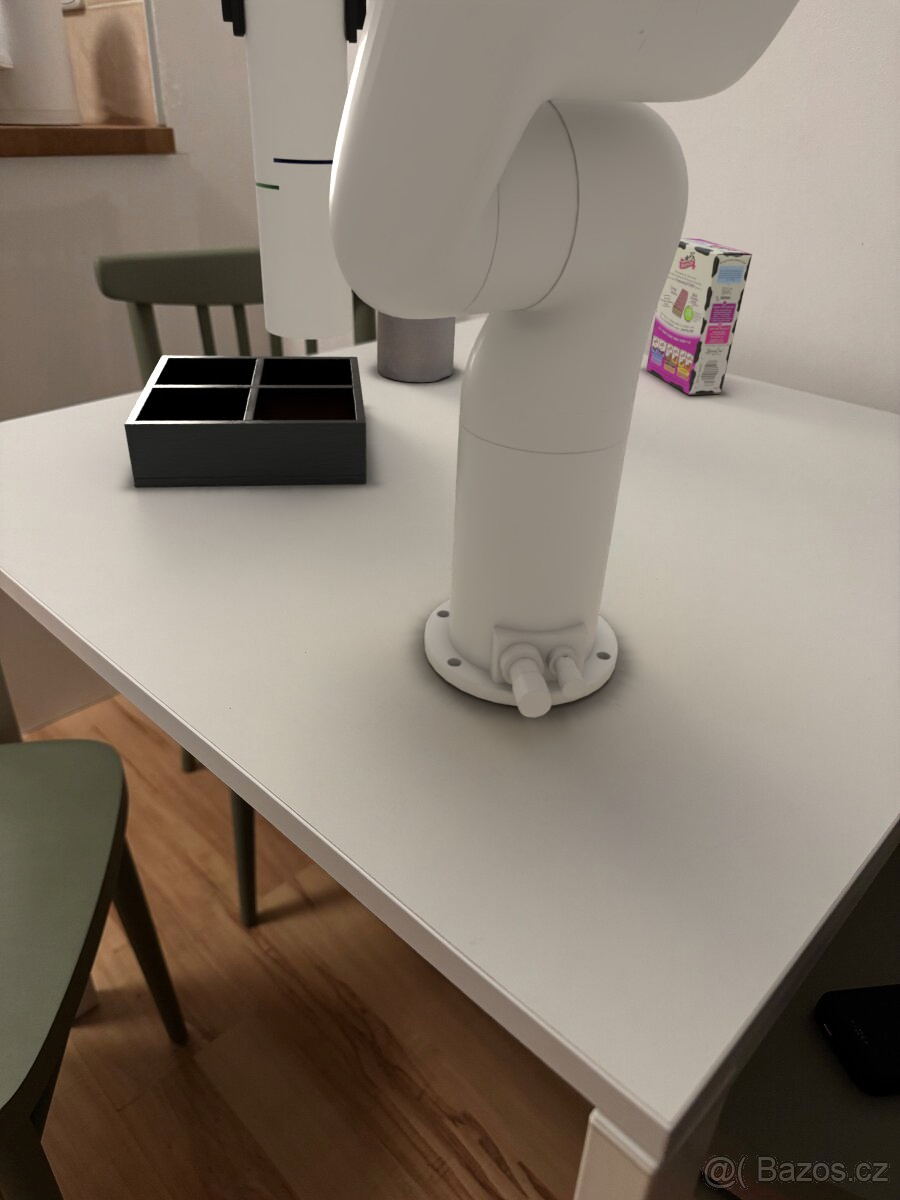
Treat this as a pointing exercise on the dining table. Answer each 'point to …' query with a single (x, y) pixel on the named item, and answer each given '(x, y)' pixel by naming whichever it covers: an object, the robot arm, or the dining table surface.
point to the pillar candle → (415, 348)
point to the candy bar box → (698, 316)
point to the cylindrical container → (297, 159)
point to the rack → (249, 422)
